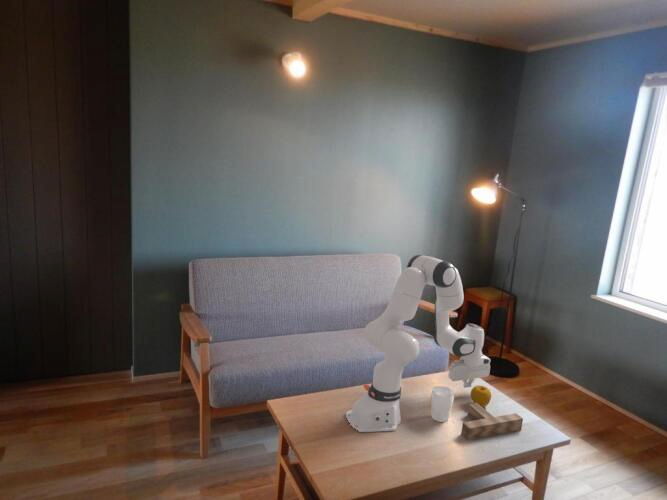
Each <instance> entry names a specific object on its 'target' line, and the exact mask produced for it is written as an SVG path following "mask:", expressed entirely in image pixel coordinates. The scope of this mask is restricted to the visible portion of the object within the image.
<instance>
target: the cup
mask: <svg viewBox="0 0 667 500" xmlns="http://www.w3.org/2000/svg"><path fill="white" fill-rule="evenodd" d="M454 395H455V392H454V390H452V389H451V388H449V387H446V386H444V385H443V386H442V385H441V386H440V385H436V386H433V388H432V390H431V395H430V403H431V405H430V407H431V409H430V410H431V418H432V420H434V421H435V422H439V423H446V422H447V421H448V420H449V418H450V414H451V411H452V406H453V404H454Z"/></svg>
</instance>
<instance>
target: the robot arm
mask: <svg viewBox="0 0 667 500" xmlns="http://www.w3.org/2000/svg"><path fill="white" fill-rule="evenodd" d="M462 283H463V282H462V278H461V275H460V273H459V270H458V268H456V267H455V266H454V265H453V264H452V263H451V262H448V261H447V260H442V259H439V258H437V257H434V256H429V255H428V256H427V255H424V254H416V255H413V256H412V257H411V258H410V259H409V261H408V263H407V265H406V267H405V268H404V269H403V270H402V272H401V273H400V275H399V277H398V279H397V281H396V283H395V285H394V288H393V291H392V293H391V296H390V299H389V301H388V304H387V306H386V308H385V310H384V311H383V312H382V314H381V315H380V316H379V317H378V318H377V319H374V320H372V321H370V322H369V323H367V324H366V326H365V328H364V329H363V339H364V341H365V342H366V343H367V344H368V345H369V346H370V347H372V348H373V349H375V350H377V351H379V352H380V353H383V354H384V359H383V360H380V361H379V362H377V363H376V365H375V366H374V369H373V378H372V383H371V385H369V384H368V383H365V384H364V385H363V389H365V390H366V391H368V392H367V393H365V394H364V395H362V396H361V397H360V398H358V399H357V400H355V401H354V403H353V404H352V409H350V410H348V411H346V414H345V418H347V419H346V421H347V420H348V421H347V423H348V422H349V423H350V424H349V423H348V424H349V425H350V426H352V427H353V428H352V427H351V428H352V429H354V428H355V429H356V430H355V429H354V430H355V431H357V430H358V431H357V432H360V433H369V432H370V433H371V432H372V433H373V432H375V433H376V432H395V431H397V428H398V426H399V425H400V423H401V422H402V418H401V417H402V416H401V410H400V399H401V394H402V386H401V385H402V384H401V383H402V377H403V371H404V369H405V368H406V367H405V366H407V365H408V364H409V363H412V362H414V360H416V359H417V357H418V356H419V353H420V342H419V341H418V339H416V338H415V337H414V336H412V335H411V334H410V333H408V332H406V331H403V330H401V329H400V327H401V325H402V324H403V323H405V322H407V321H410V320H412V319H413V318H414V317H415V315H416V313H417V311H418V307H419V304H420V302H421V298H422V295H423V292H424V289H425V286H426V285H429V286H433V287H435V293H436V298H435V302H434V320H435V321H434V332H433V333H434V334H433V341H434V343H435V344H436V345H437V346H438V347H440V348H443V349H444V350H446V351H447V352H448V353H451V354H452V355H453V356H455V357H460V359H457V360H453V362H451V363H450V367H449V370H448V375H447V376H448V379H450V380H451V382H459V381H462V382H463V388H472V384H473V383H474V381H475V379H480V378H485V377H487V378H488V377H489V375H490V371H491V364H490V363H491V358H489V357H488V356H486V355H484V353H483V351H482V350H483V347H484V344H485V343H484V342H485V330H484V328H483V327H482V326H480V325H478V324H474V323H472V322H471V323H467V324H466V325H465V326H464V328H463V329H462V330H460V331H457V330H455V329H454V328H453V327H452V325H450V314H449V313H450V312H452V311H455V310H457V309H459V308H460V307H462V305H463V303H464V297H465V295H464V289H463V287H464V286H463V284H462Z"/></svg>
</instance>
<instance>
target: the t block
mask: <svg viewBox="0 0 667 500" xmlns="http://www.w3.org/2000/svg"><path fill="white" fill-rule="evenodd" d="M467 416H468V417H469V418H470V419H472V420H469V421H468V420H467V421H464V422H462V424H461V425H462V426H461V433H460V435H461V436H463V438H465V439H466V440H467V441H471V440H474V439H475V440H476V439H480V438H484V437H485V438H486V437H491V436H496V435H501V434H502V435H503V434H507V433H511V432H516V431H521V430H522V427H523V421H524V418H523V417H522V416H520V415H519V414H518V413H516V412H515V413H510V414H504V415H496V416H494V415H493V414H491V413H490V412H489V411H487V410H486V409H485V407H481V406H480V405H479V404H478V403H474V402H473V403H469V404H468V408H467Z"/></svg>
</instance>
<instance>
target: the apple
mask: <svg viewBox="0 0 667 500" xmlns="http://www.w3.org/2000/svg"><path fill="white" fill-rule="evenodd" d="M470 397H471V398H470V399H471V400H472V402H473V403H478V404H479V405H480V406H481V407H483V408H486V407H487V405H489V404H490V402H491V400H492V399H491V398H492V392H491V391H490V389H489V388H488V387H487V386H484V385H475V386H474V387H472V388H471V390H470Z"/></svg>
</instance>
